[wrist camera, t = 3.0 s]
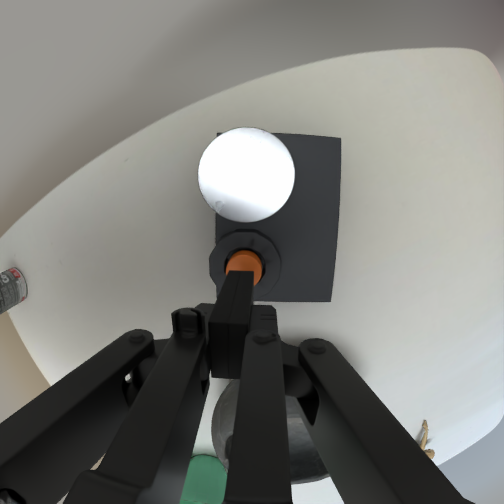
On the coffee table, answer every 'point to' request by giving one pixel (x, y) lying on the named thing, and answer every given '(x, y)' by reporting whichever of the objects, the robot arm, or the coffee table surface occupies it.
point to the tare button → (246, 263)
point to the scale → (292, 229)
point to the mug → (204, 481)
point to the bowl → (300, 443)
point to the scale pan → (246, 174)
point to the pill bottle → (11, 289)
